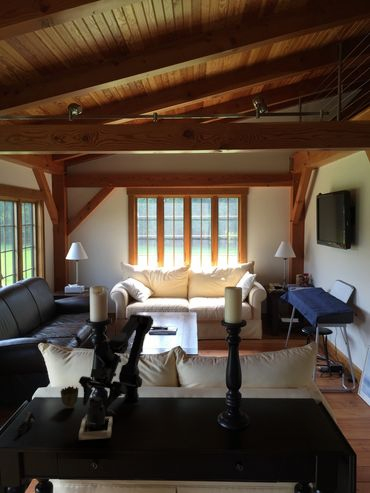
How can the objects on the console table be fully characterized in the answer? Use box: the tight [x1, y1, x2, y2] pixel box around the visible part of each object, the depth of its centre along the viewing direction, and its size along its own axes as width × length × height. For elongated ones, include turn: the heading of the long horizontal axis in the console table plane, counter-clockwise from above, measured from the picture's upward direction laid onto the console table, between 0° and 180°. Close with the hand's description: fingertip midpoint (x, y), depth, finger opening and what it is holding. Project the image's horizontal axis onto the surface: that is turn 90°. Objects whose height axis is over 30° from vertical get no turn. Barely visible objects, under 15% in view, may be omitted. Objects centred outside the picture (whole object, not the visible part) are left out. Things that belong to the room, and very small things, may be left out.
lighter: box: [17, 411, 36, 436], centre depth 150 cm, size 9×2×6 cm
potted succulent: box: [60, 385, 80, 410], centre depth 167 cm, size 8×7×8 cm
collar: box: [78, 416, 113, 441], centre depth 149 cm, size 11×11×2 cm
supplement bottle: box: [86, 396, 106, 432], centre depth 149 cm, size 7×7×12 cm
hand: (94, 407), depth 148 cm, fingers open, 9 cm apart
